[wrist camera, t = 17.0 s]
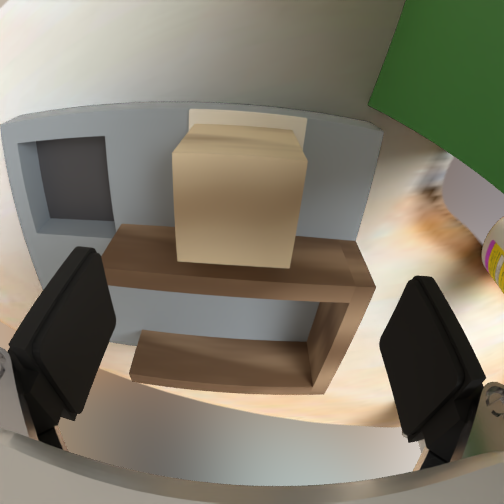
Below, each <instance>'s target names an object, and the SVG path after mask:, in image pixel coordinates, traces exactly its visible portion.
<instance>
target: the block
mask: <svg viewBox="0 0 504 504" xmlns="http://www.w3.org/2000/svg"><path fill="white" fill-rule="evenodd" d="M307 164H308V160H307V158H306V156H305V154H304V152H303V150H302V148H301V146H300V144H299V142H298V140H297V138H296V136H295V134H294V132H293V130H287V129H277V128H266V127H253V126H238V125H219V124H194V125H193V126H192V128H191V129H190V130H189V131H188V133H187V134H186V135H185V137H184V138H183V139H182V140H181V142H180V143H179V144H178V146H177V147H176V148H175V150H174V151H173V152H172V170H173V198H174V218H175V235H176V249H177V261H179V262H194V263H209V264H224V265H240V266H256V267H273V268H290V263H291V258H292V252H293V247H294V241H295V236H296V230H297V225H298V219H299V213H300V207H301V201H302V195H303V189H304V183H305V177H306V170H307Z"/></svg>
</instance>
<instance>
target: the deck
mask: <svg viewBox="0 0 504 504" xmlns="http://www.w3.org/2000/svg"><path fill="white" fill-rule="evenodd" d="M194 124H219V125H238V126H253V127H266V128H277V129H287V130H293V132H294V134H295V136H296V138H297V140H298V142H299V144H300V146H301V148H302V150H303V152H304V154H305V156H306V158H307V160H308V164H307V170H306V177H305V183H304V189H303V195H302V201H301V207H300V213H299V219H298V225H297V230H296V236H305V237H317V238H328V239H339V240H351V241H356V237H357V234H358V231H359V227H360V224H361V220H362V217H363V213H364V210H365V206H366V203H367V199H368V195H369V192H370V188H371V184H372V180H373V176H374V172H375V168H376V164H377V160H378V156H379V152H380V148H381V143H382V139H383V134H384V131H382V130H381V129H379V128H378V127H376V126H375V125H373V124H372V123H370V122H366V121H362V120H357V119H351V118H346V117H341V116H335V115H329V114H323V113H316V112H309V111H302V110H295V109H287V108H278V107H268V106H258V105H246V104H231V103H211V102H137V103H117V104H103V105H92V106H82V107H73V108H65V109H57V110H50V111H44V112H37V113H31V114H26V115H20V116H18V117H16V118H13V119H11V120H9V121H7V122H5V123H3V124H1V125H0V129H1V137H2V143H3V150H4V156H5V161H6V167H7V172H8V177H9V181H10V186H11V190H12V194H13V198H14V202H15V206H16V210H17V214H18V218H19V221H20V225H21V228H22V231H23V235H24V238H25V241H26V244H27V247H28V250H29V253H30V256H31V259H32V262H33V265H34V267H35V270H36V273H37V276H38V278H39V281H40V283H41V286H42V288H43V290H44V289H45V287H46V286H47V284H48V283H49V281H50V280H51V279H52V277H53V276H54V275H55V273H56V272H57V271H58V269H59V268H60V266H61V265H62V264H63V262H64V261H65V260H66V259H67V257H68V256H69V255H70V253H71V252H72V251H73V250H74V248H75V247H77V246H82V247H92V248H95V250H96V252H97V253H99V254H100V255H101V256H102V254H103V253H104V251H105V249H106V248H107V246H108V245H109V243H110V241H111V240H112V238H113V237H114V235H115V233H116V232H117V230H118V229H119V227H120V225H121V224H136V225H152V226H169V227H175V218H174V198H173V170H172V152H173V151H174V150H175V148H176V147H177V146H178V144H179V143H180V142H181V140H182V139H183V138H184V137H185V135H186V134H187V133H188V131H189V130H190V129H191V128H192V126H193V125H194ZM108 288H109V292H110V296H111V300H112V304H113V308H114V311H115V315H116V326H115V329H114V331H113V334H112V336H111V339H110V341H109V342H113V343H119V344H126V345H133V346H137V344H138V341H139V338H140V334H141V331H142V330H149V331H158V332H166V333H176V334H186V335H196V336H208V337H220V338H234V339H250V340H270V341H299V342H307V339H308V336H309V333H310V330H311V327H312V324H313V321H314V318H315V315H316V312H317V309H318V306H319V303H320V302H312V301H291V300H273V299H256V298H241V297H227V296H214V295H201V294H189V293H178V292H167V291H156V290H146V289H137V288H127V287H118V286H110V285H108Z"/></svg>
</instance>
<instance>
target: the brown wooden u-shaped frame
mask: <svg viewBox="0 0 504 504" xmlns="http://www.w3.org/2000/svg"><path fill="white" fill-rule="evenodd" d="M101 257H102V262H103V267H104V271H105V275H106V280H107V284H108V285H110V286H118V287H127V288H137V289H146V290H156V291H167V292H178V293H189V294H201V295H214V296H227V297H241V298H256V299H273V300H291V301H312V302H320V303H319V306H318V309H317V312H316V315H315V318H314V321H313V324H312V327H311V330H310V333H309V336H308V339H307V342H299V341H270V340H250V339H234V338H220V337H208V336H196V335H186V334H176V333H166V332H158V331H149V330H142V331H141V334H140V338H139V341H138V344H137V348H136V351H135V354H134V358H133V361H132V365H131V368H130V372H129V375H130V377H131V380H132V382H139V383H145V384H152V385H159V386H166V387H174V388H183V389H192V390H202V391H214V392H227V393H244V394H272V395H315V394H324V393H325V391H326V390H327V388H328V386H329V384H330V382H331V380H332V379H333V377H334V375H335V373H336V371H337V369H338V367H339V365H340V363H341V361H342V359H343V358H344V356H345V354H346V352H347V350H348V348H349V345H350V343H351V341H352V339H353V337H354V335H355V333H356V331H357V329H358V327H359V325H360V322H361V320H362V318H363V316H364V314H365V311H366V309H367V307H368V305H369V302H370V300H371V298H372V296H373V293H374V291H375V289H376V286H375V284H374V282H373V279H372V277H371V275H370V272H369V270H368V268H367V265H366V263H365V261H364V259H363V256H362V254H361V252H360V250H359V248H358V245H357V243H356V241H351V240H339V239H328V238H317V237H305V236H295V241H294V247H293V252H292V258H291V263H290V268H273V267H256V266H240V265H224V264H209V263H194V262H179V261H177V249H176V235H175V227H169V226H152V225H136V224H121V225H120V227H119V229H118V230H117V232H116V233H115V235H114V237H113V238H112V240H111V241H110V243H109V245H108V246H107V248H106V249H105V251H104V253H103V254H102V256H101Z"/></svg>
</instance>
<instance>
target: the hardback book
mask: <svg viewBox="0 0 504 504" xmlns="http://www.w3.org/2000/svg"><path fill="white" fill-rule="evenodd" d="M368 106H370V107H372V108H374V109H376V110H378V111H380V112H382V113H384V114H386V115H387V116H389V117H391V118H393V119H395V120H397V121H398V122H400V123H402V124H404V125H405V126H407V127H409V128H410V129H412V130H414V131H416V132H417V133H419V134H420V135H422V136H424V137H425V138H427V139H429V140H430V141H432V142H433V143H435V144H436V145H438V146H439V147H441V148H443V149H444V150H446V151H447V152H449V153H450V154H451V155H453V156H454V157H456V158H457V159H459V160H460V161H462V162H463V163H464V164H466V165H467V166H469V167H470V168H471V169H473V170H474V171H475V172H477V173H478V174H480V175H481V176H482V177H483V178H485V179H486V180H487V181H489V182H490V183H491V184H493V185H494V186H495V187H496V188H497V189H499V190H500V191H501V192H502V193H504V0H406V1H405V4H404V7H403V10H402V13H401V16H400V19H399V22H398V25H397V28H396V31H395V33H394V36H393V39H392V42H391V45H390V47H389V50H388V53H387V56H386V58H385V61H384V64H383V66H382V69H381V72H380V74H379V77H378V80H377V82H376V85H375V87H374V90H373V93H372V95H371V98H370V100H369V103H368Z"/></svg>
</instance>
